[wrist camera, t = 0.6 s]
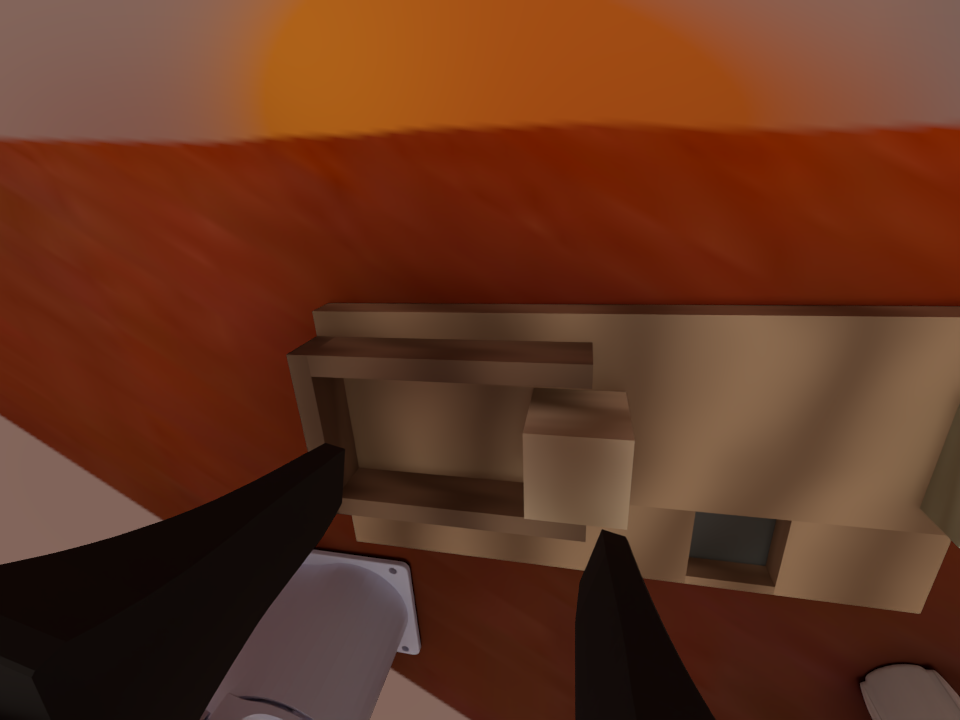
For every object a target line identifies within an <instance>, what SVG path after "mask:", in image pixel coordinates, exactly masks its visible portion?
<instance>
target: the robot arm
mask: <svg viewBox="0 0 960 720" xmlns="http://www.w3.org/2000/svg"><path fill="white" fill-rule="evenodd" d="M344 462H345V449H344V448H341V447H338V446H334V445H331V444H328V443H324V444H322V445H320V446H318V447H316V448H315V449H313V450H311V451H309V452H307V453H305V454H304V455H302V456H300V457H298V458H296V459H295V460H293V461H291V462H289V463H287V464H285V465H284V466H282V467H280V468H278V469H276V470H274V471H272V472H270V473H269V474H267V475H265V476H263V477H261V478H259V479H257V480H255V481H253V482H251V483H249V484H247V485H245V486H243V487H241V488H239V489H237V490H235V491H233V492H231V493H228V494H226V495H224V496H222V497H220V498H218V499H216V500H214V501H211V502H209V503H207V504H204V505H202V506H200V507H197V508H195V509H192V510H190V511H187V512H185V513H182V514H179V515H177V516H174V517H172V518H169V519H166V520H164V521H161V522H158V523H155V524H152V525H149V526H146V527H143V528H140V529H137V530H134V531H131V532H128V533H125V534H122V535H119V536H115V537H112V538H109V539H105V540H102V541H98V542H94V543H91V544H87V545H84V546H80V547H76V548H72V549H68V550H64V551H60V552H56V553H53V554H48V555H44V556H39V557H34V558H30V559H25V560H21V561H16V562H11V563H7V564H2V565H0V720H370V718H371V715H372V712H373V710H374V707H375V705H376V702H377V700H378V697H379V695H380V692H381V690H382V687H383V685H384V682H385V680H386V677H387V675H388V672H389V670H390V667H391V665H392V662H393V660H394V657H395V655H396V652H402V653H407V654H413V655H416V654H418V653H419V652H420V649H421V643H420V636H419V629H418V622H417V615H416V608H415V601H414V594H413V587H412V580H411V573H410V568H409V566H408V565H407V564H406V563H405V562H402V561H394V560H387V559H379V558H372V557H365V556H357V555H350V554H343V553H335V552H328V551H321V550H313V549H314V548H315V546H316V545H317V544H318V542H319V541H320V540H321V538H322V537H323V535H324V534H325V532H326V530H327V529H328V527H329V525H330V524H331V522H332V520H333V519H334V517H335V515H336V513H337V512H338V510H339V508H340V506H341V504H342V496H343V479H344ZM575 716H576V720H716V719H715V718H714V716H713V715H712V713H711V711H710V710H709V708H708V706H707V705H706V703H705V701H704V700H703V698H702V696H701V695H700V693H699V691H698V690H697V688H696V686H695V684H694V683H693V681H692V679H691V677H690V675H689V674H688V672H687V670H686V668H685V666H684V664H683V663H682V661H681V659H680V657H679V655H678V653H677V651H676V649H675V647H674V645H673V643H672V641H671V639H670V637H669V635H668V633H667V631H666V629H665V627H664V625H663V623H662V621H661V619H660V616H659V614H658V612H657V610H656V608H655V605H654V603H653V601H652V599H651V597H650V594H649V592H648V590H647V587H646V585H645V583H644V580H643V578H642V575H641V573H640V570H639V568H638V565H637V563H636V560H635V558H634V555H633V552H632V550H631V547H630V545H629V542H628V540H627V538H626V537H625V536H622V535H619V534H616V533H613V532H609V531H606V530H603V529H602V530H601V532H600V535H599V537H598V540H597V542H596V544H595V547H594V549H593V552H592V554H591V556H590V559H589V561H588V564H587V566H586V568H585V571H584V573H583V575H582V578H581V580H580V584H579V593H578V602H577V611H576V621H575Z"/></svg>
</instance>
